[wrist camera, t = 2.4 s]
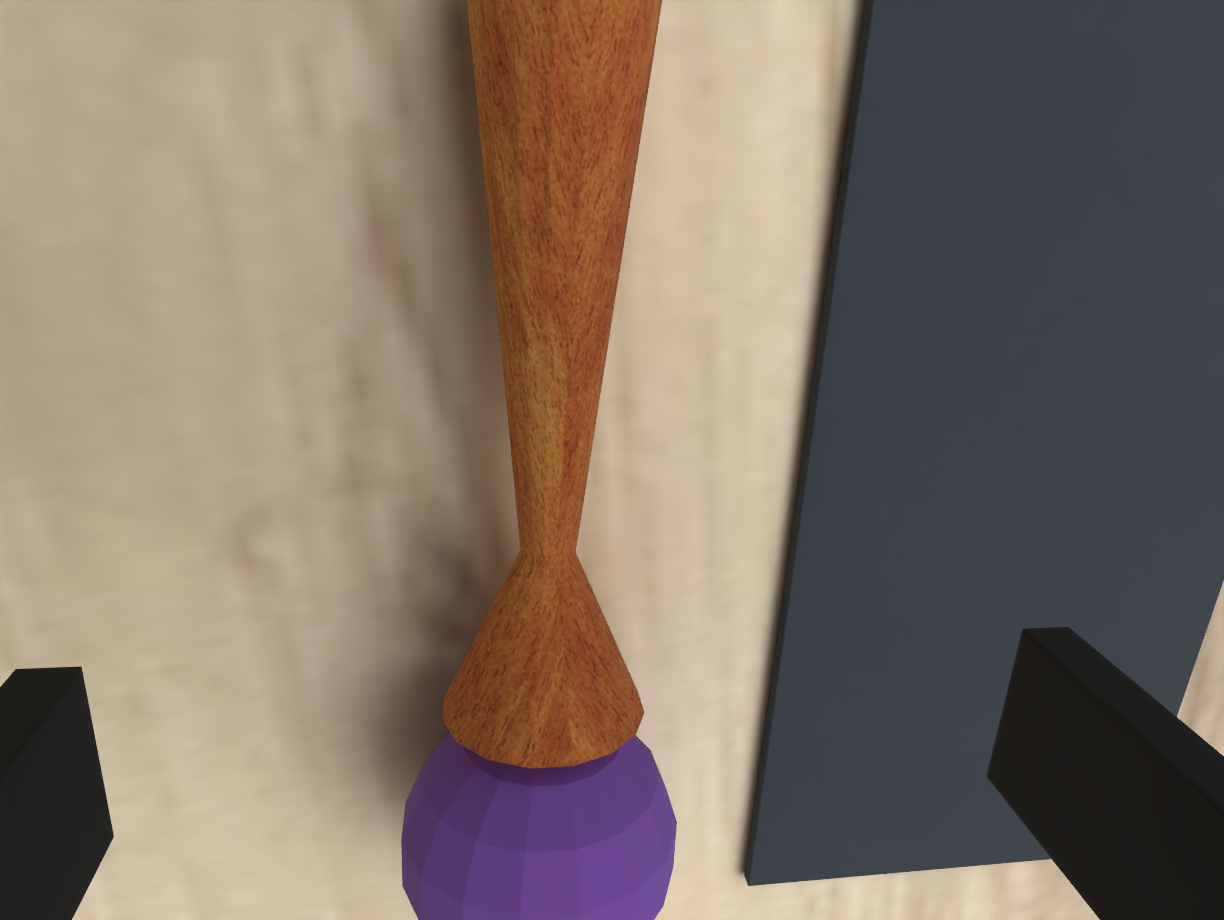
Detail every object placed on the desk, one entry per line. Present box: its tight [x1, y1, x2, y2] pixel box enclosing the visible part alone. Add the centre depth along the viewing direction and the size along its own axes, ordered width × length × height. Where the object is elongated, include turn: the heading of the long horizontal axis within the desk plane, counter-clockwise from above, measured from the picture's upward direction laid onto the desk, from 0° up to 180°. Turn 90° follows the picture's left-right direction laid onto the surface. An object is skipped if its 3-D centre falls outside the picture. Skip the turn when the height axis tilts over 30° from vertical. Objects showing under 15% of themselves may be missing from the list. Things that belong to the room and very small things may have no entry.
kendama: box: [401, 0, 677, 920], centre depth 17 cm, size 6×6×20 cm
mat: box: [744, 0, 1224, 886], centre depth 21 cm, size 24×12×1 cm, turn 177°
